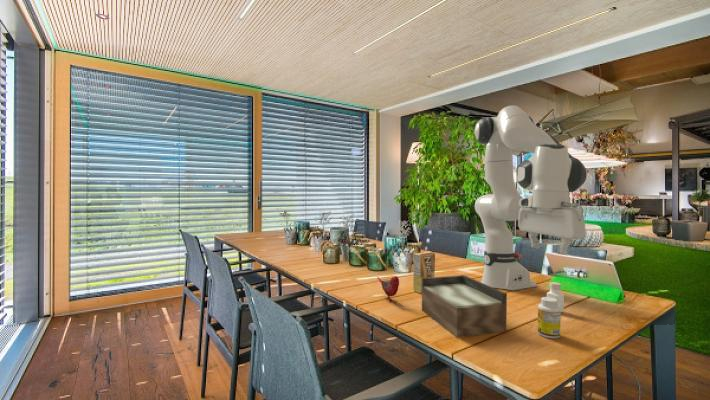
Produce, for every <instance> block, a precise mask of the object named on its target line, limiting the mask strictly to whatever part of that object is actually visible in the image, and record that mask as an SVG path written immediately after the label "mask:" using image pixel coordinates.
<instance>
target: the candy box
mask: <svg viewBox="0 0 710 400" xmlns="http://www.w3.org/2000/svg"><path fill="white" fill-rule="evenodd" d="M435 266H436V253H435V252H433V251H423V252H417V253H413V276H412V277H413V279H412V281H413V282H412V283H413V284H412V285H413V287H412V291H413V292H414V293H415V292H416V293H419V294H422V278H431V277H435V275H436V274H435V271H436V268H435Z"/></svg>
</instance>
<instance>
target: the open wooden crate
mask: <svg viewBox="0 0 710 400" xmlns="http://www.w3.org/2000/svg"><path fill="white" fill-rule="evenodd" d="M507 295H508V294H507V293H506V292H504V291H501V290H499V289H498V288H493V287H490V286H488V285H486V284H483V283H481V281H479V280H476V279H474V278H472V277H469V276H467V275H465V274H462V275H448V276H436V277H431V278H422V293H421V311H422V312H423V313H425V315H427V316H428V317H429V318H431V319H432V320H433V321H435V322H436V323H437V324H439V325H440V326H442V327H443V328H444V329H445V330H447V331H448V332H449V333H451V334H452V336H454V337H456V338H463V337H470V336H481V335H486V334H487V335H489V334H495V333H503V332H507V314H508V313H507V310H508V309H507V304H508V303H507V302H508V301H507V298H508V297H507Z"/></svg>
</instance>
